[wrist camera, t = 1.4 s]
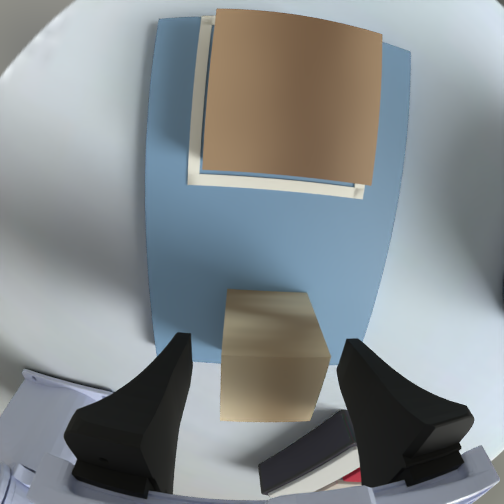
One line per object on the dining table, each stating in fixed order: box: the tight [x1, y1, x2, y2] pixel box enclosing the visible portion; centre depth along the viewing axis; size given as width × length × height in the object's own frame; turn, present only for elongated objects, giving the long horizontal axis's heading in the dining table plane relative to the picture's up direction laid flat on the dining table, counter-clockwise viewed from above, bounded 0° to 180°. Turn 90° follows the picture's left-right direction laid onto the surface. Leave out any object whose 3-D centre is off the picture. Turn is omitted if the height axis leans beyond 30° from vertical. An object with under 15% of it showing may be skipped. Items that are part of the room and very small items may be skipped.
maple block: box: [220, 289, 331, 422], centre depth 13 cm, size 4×4×5 cm
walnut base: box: [202, 9, 382, 186], centre depth 10 cm, size 6×6×3 cm
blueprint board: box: [145, 16, 411, 365], centre depth 14 cm, size 12×18×1 cm, turn 176°
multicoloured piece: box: [258, 410, 361, 497], centre depth 22 cm, size 11×4×15 cm
